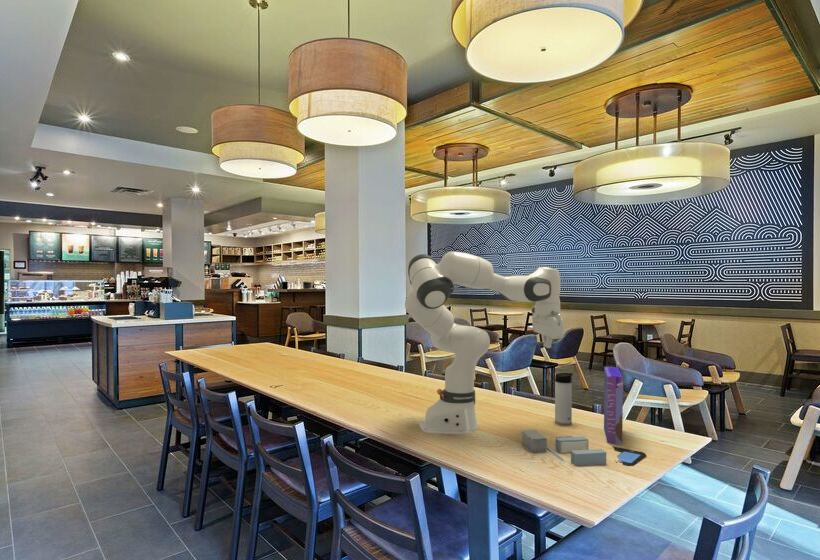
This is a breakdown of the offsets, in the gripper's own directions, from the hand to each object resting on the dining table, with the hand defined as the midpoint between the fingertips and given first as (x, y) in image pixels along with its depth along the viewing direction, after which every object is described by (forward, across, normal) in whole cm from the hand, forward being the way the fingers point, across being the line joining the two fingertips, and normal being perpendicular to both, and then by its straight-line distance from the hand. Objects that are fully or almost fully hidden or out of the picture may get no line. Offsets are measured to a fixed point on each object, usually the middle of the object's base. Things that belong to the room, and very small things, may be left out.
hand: (547, 347), depth 165 cm
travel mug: (+32, +8, -11) cm, 35 cm away
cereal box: (+32, -7, -22) cm, 39 cm away
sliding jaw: (+32, -21, 0) cm, 38 cm away
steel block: (+32, -17, +12) cm, 38 cm away
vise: (+32, -23, 0) cm, 39 cm away
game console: (+32, -26, -13) cm, 43 cm away
